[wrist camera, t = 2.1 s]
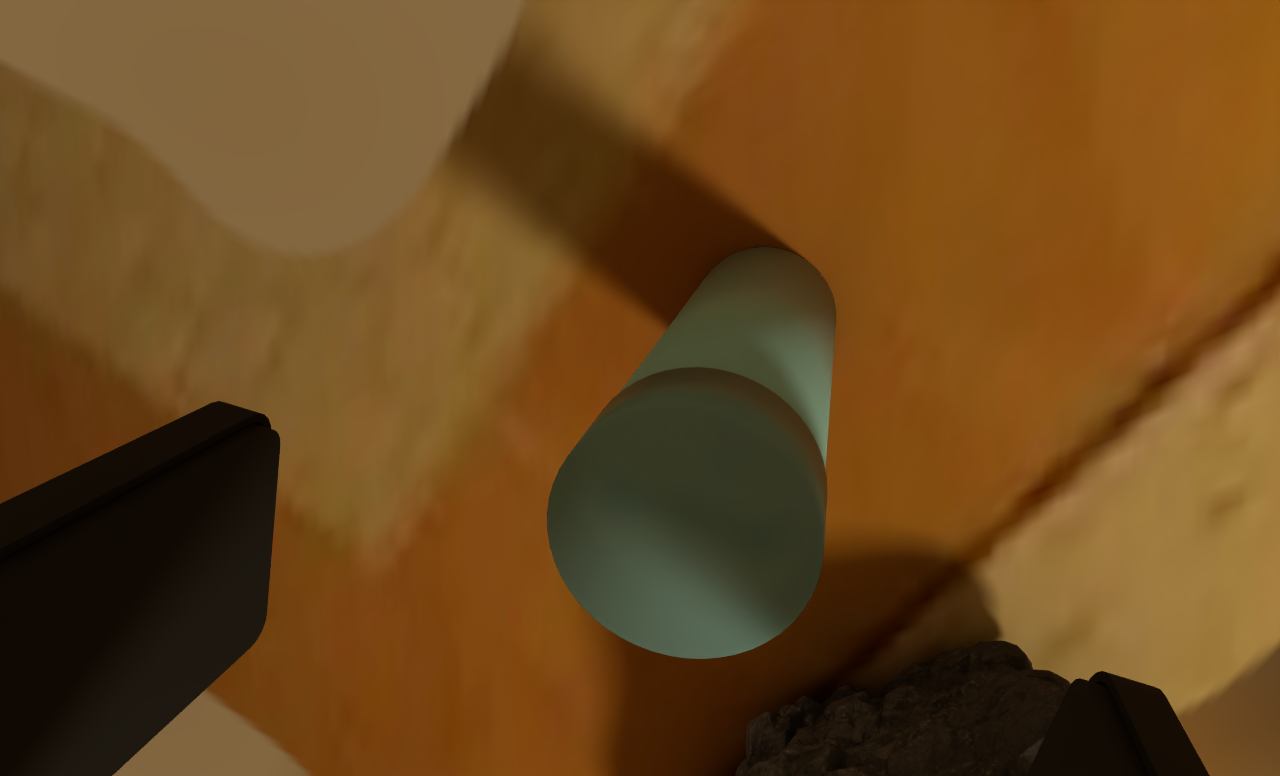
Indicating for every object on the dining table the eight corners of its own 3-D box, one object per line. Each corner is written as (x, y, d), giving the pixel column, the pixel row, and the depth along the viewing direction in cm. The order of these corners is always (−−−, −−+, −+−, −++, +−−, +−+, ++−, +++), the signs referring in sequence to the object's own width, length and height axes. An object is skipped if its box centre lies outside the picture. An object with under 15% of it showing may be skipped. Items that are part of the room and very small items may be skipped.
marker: (710, 228, 21) (573, 373, 10) (857, 266, 20) (861, 456, 10) (677, 364, 22) (527, 610, 12) (814, 403, 21) (779, 692, 11)
